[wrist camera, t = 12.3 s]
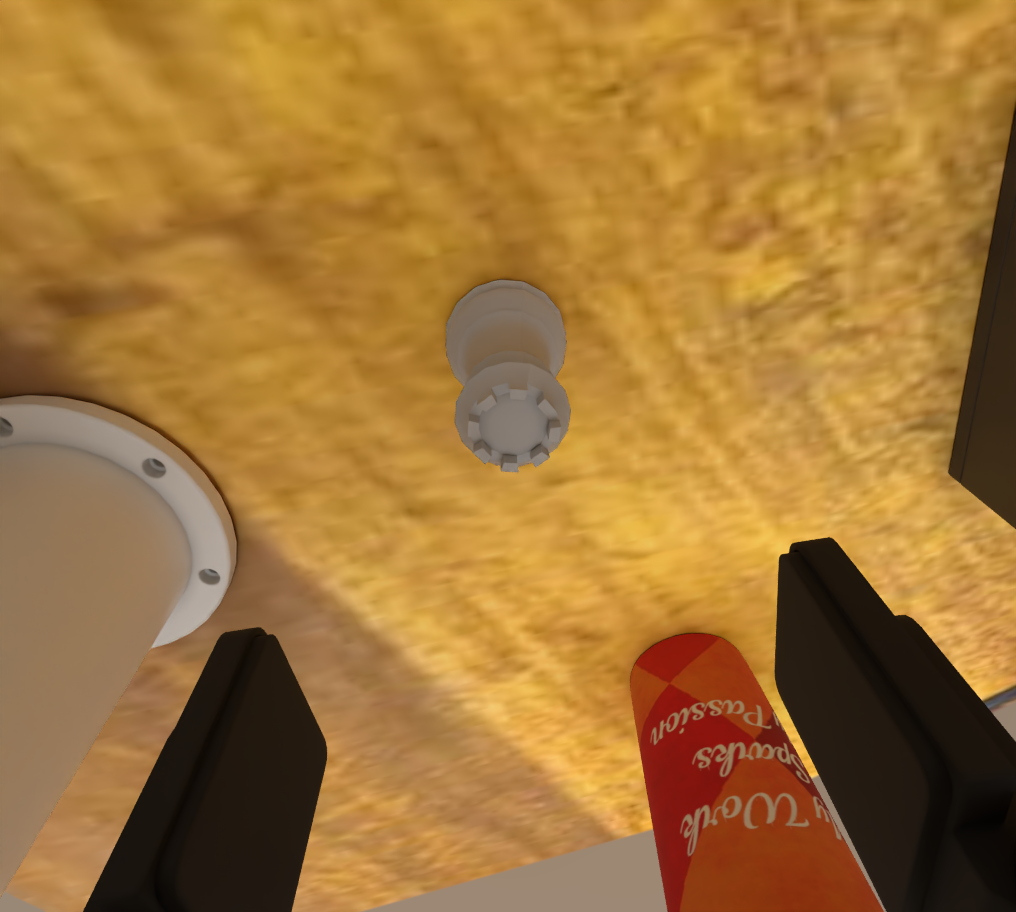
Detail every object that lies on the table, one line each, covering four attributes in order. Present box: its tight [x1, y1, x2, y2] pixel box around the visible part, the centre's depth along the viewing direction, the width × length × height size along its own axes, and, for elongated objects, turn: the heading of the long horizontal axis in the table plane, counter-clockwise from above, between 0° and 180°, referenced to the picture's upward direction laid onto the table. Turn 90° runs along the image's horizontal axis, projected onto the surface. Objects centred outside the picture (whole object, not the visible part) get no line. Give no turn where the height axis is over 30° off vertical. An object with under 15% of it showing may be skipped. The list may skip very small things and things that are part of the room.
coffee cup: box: [630, 633, 884, 912], centre depth 27 cm, size 8×8×15 cm
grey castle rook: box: [446, 280, 571, 472], centre depth 21 cm, size 4×4×8 cm
